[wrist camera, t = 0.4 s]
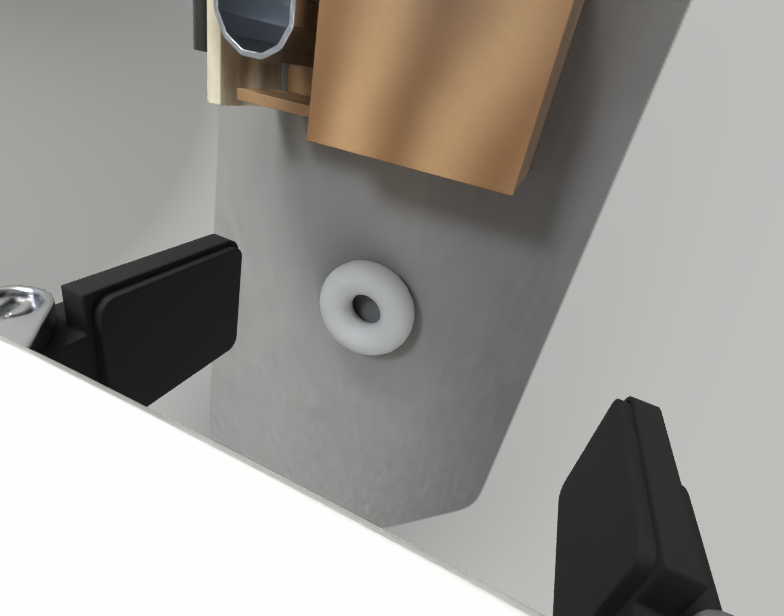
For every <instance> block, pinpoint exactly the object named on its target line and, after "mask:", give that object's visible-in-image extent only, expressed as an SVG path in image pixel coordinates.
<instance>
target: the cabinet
mask: <svg viewBox="0 0 784 616" xmlns="http://www.w3.org/2000/svg"><path fill="white" fill-rule="evenodd" d="M584 1H585V0H319V11H318V22H317V33H316V43H315V54H314V65H313V76H312V87H311V97H310V108H309V119H308V130H307V140H308V141H312V142H315V143H319V144H323V145H326V146H330V147H334V148H337V149H341V150H345V151H348V152H352V153H356V154H359V155H363V156H367V157H370V158H374V159H378V160H382V161H385V162H389V163H393V164H396V165H400V166H404V167H407V168H411V169H415V170H418V171H422V172H426V173H429V174H433V175H437V176H441V177H444V178H448V179H452V180H455V181H459V182H463V183H466V184H470V185H474V186H477V187H481V188H485V189H488V190H492V191H496V192H499V193H503V194H507V195H511V196H512V195H513V194H514V192H515V191H516V190H517V188H518V187H519V186H520V184H521V183H522V182H523V180H524V179H525V178H526V176H527V175H528V172H529V169H530V166H531V163H532V160H533V157H534V154H535V151H536V148H537V145H538V142H539V139H540V136H541V133H542V130H543V127H544V123H545V120H546V117H547V114H548V111H549V108H550V105H551V102H552V99H553V96H554V93H555V90H556V87H557V84H558V81H559V78H560V75H561V72H562V69H563V65H564V62H565V59H566V56H567V53H568V50H569V47H570V44H571V41H572V38H573V35H574V32H575V29H576V26H577V23H578V20H579V17H580V14H581V10H582V7H583V4H584Z"/></svg>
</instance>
